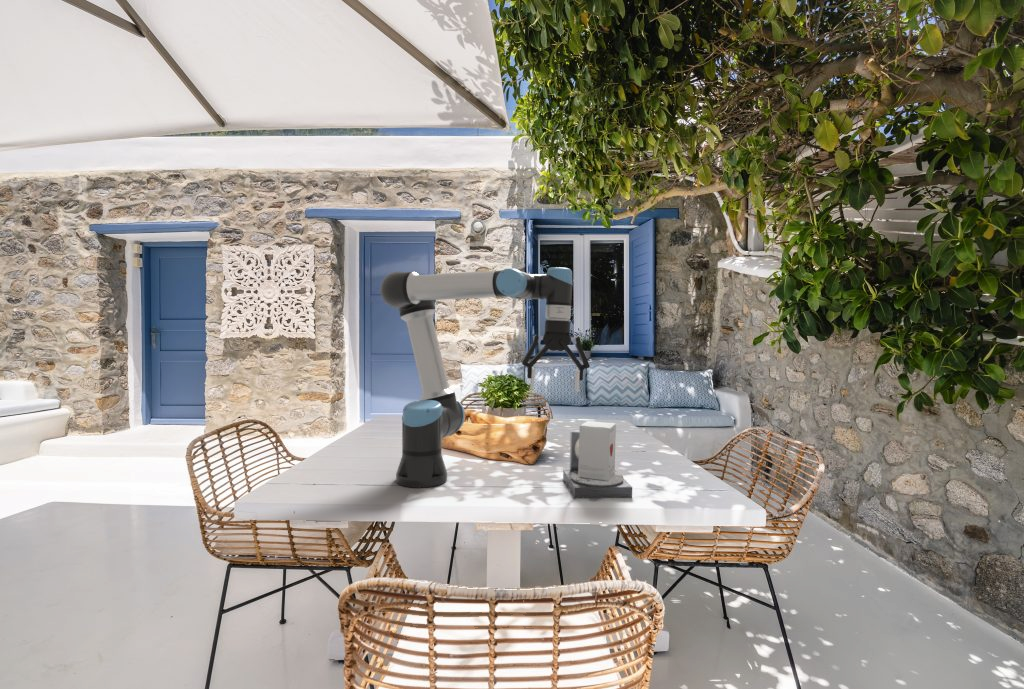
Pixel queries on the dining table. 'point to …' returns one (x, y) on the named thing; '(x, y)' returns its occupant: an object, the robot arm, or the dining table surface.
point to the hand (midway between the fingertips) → (554, 390)
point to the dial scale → (592, 487)
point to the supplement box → (597, 450)
